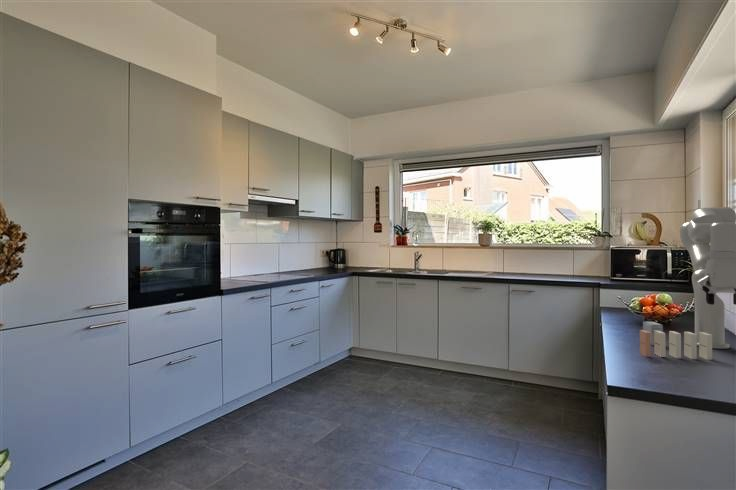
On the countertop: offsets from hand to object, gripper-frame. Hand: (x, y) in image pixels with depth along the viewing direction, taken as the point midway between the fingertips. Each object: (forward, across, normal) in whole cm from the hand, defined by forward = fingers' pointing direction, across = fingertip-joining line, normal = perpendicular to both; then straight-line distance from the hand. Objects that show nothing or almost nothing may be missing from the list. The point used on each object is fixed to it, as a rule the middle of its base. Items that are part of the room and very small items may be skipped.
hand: (723, 304), depth 149 cm
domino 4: (+20, +11, 0) cm, 23 cm away
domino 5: (+20, +6, 0) cm, 21 cm away
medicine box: (+20, +14, -21) cm, 33 cm away
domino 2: (+20, +21, 0) cm, 29 cm away
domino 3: (+20, +16, 0) cm, 26 cm away
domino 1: (+20, +26, 0) cm, 33 cm away
